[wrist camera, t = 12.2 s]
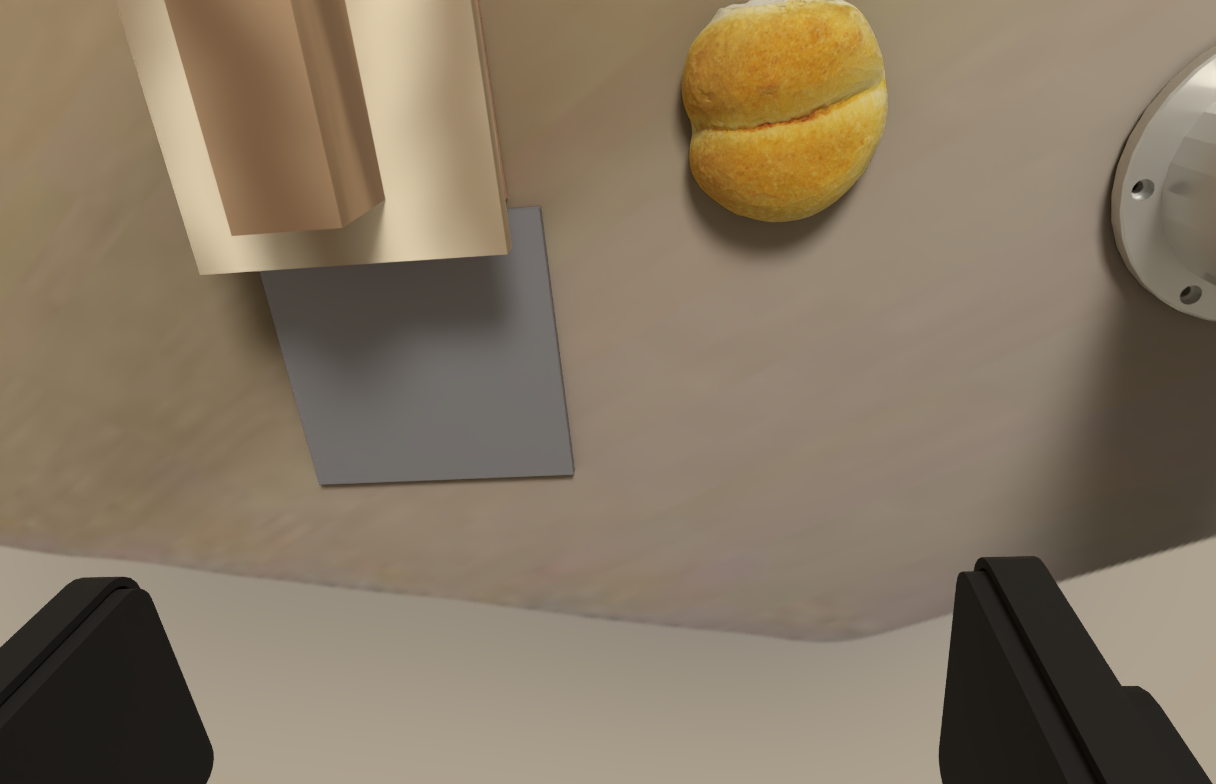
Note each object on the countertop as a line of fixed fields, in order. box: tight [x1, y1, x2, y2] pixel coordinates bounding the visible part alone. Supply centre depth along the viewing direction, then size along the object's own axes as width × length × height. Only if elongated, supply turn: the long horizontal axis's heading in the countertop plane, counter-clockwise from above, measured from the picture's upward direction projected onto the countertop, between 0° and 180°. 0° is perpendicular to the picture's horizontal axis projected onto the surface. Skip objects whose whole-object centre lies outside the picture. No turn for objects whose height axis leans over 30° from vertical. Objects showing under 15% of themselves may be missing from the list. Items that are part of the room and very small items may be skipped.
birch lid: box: [115, 0, 512, 275], centre depth 29 cm, size 13×13×6 cm
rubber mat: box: [259, 206, 575, 485], centre depth 41 cm, size 14×14×1 cm
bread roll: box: [681, 0, 888, 222], centre depth 34 cm, size 8×9×4 cm
